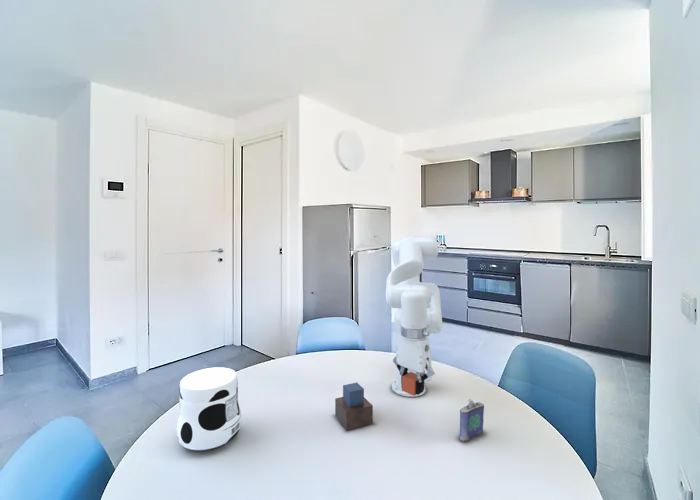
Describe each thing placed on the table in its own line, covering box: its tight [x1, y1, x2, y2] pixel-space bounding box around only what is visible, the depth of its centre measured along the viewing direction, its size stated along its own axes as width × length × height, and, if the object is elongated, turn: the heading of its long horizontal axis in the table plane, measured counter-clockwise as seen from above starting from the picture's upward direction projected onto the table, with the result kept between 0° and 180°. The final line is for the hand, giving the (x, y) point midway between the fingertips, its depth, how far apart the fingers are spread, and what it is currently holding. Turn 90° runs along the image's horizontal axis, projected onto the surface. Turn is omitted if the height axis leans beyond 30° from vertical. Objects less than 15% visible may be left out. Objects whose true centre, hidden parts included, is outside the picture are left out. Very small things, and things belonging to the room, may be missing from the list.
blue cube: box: [342, 382, 365, 408], centre depth 108 cm, size 5×5×5 cm
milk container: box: [176, 366, 242, 452], centre depth 98 cm, size 17×17×18 cm
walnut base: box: [334, 396, 374, 432], centre depth 108 cm, size 9×9×6 cm
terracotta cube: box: [402, 372, 418, 396], centre depth 103 cm, size 4×4×4 cm
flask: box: [458, 398, 485, 443], centre depth 100 cm, size 9×3×11 cm, turn 121°
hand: (412, 389), depth 103 cm, fingers closed on terracotta cube, 4 cm apart
